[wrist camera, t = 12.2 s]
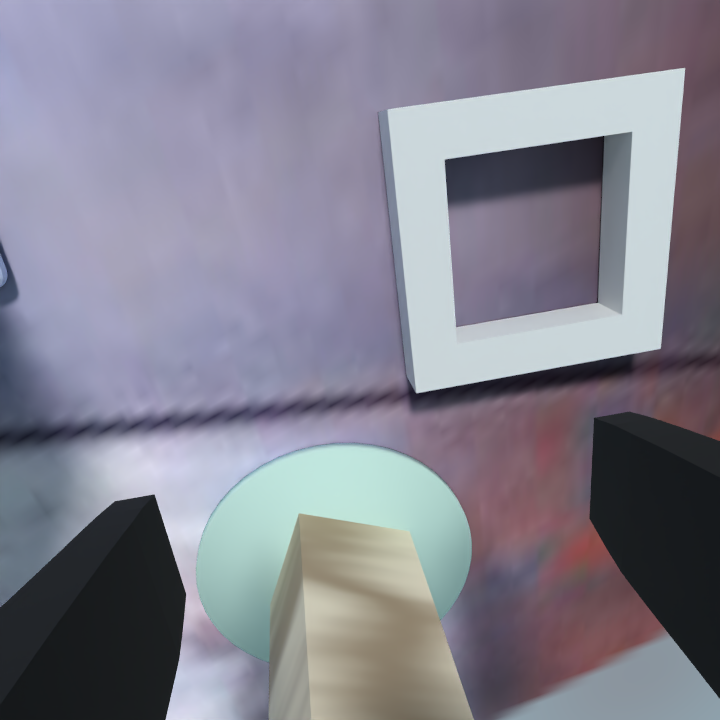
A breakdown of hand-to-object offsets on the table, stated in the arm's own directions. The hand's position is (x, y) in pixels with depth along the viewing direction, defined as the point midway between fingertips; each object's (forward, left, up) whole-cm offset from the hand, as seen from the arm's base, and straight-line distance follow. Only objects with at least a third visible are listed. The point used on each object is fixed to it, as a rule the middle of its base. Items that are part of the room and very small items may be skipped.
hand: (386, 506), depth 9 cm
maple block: (-1, -10, -10) cm, 14 cm away
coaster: (-1, -10, -10) cm, 15 cm away
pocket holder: (+7, +2, -10) cm, 13 cm away
